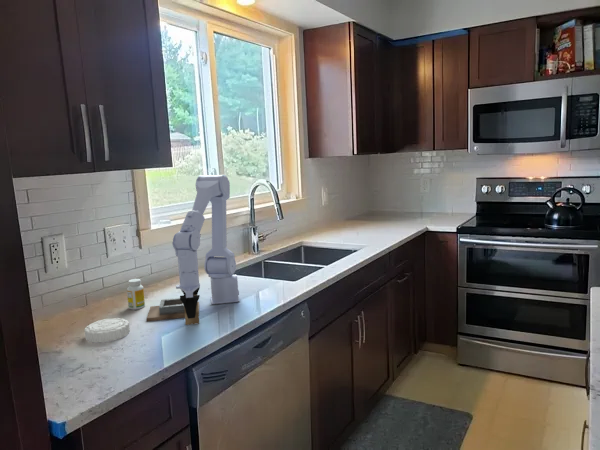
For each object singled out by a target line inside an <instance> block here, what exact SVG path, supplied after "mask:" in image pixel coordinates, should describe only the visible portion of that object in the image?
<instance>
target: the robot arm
mask: <svg viewBox="0 0 600 450" xmlns="http://www.w3.org/2000/svg"><path fill="white" fill-rule="evenodd" d="M230 184H231V183H230V180H229V178H228V176H227V175H226V174H217V175H216V174H214V175H212V174H211V175H207V174H206V175H203V174H201V175H200V174H199V175H198V176H197V177H196V181H195V190H196V196H195V200H194V202H193V206H192V210H191V211H188V212H187V213H186V215H185V218H184V221H183V222H182V225H181V228H180V230H179V231H178V232H176V233H174V235H173V239H172V243H171V244H172V248H173V249H174V252H175V256H176V257H177V265H178V276H179V284H176V285H175V289H176V290H181V292H182V293H183V295H180V296H179V298H180V300H181V301H182V303H183V305H184V307H185V310H186V314H187V317H188V319H189V318H195V316H196V306H197V302H199V300H200V297H201V296H200V294H199V292H200V288H201V283H200V276H199V263H198V250H199V247H200V245H201V230H202V229H203V228H202V227H203V225H204V223H205V216H204V213H205V211H206V209H207V207H208V205H209V203H211V249H210V250H209V251H207V252H206V253H205V259H204V264H203V267H204V272H205V274H206V275H208V277H209V278H210V290H211V296H210V304H211V305H217V304H220V305H221V304H229V303H238V302H240V296H239V295H240V291H239V282H238V275H237V274H235V272H236V269H237V263H236V258H235V256H236V255H235V253H234V252H233V251H232V250H230V249H229V248H228V247H227V244H228V243H227V242H228V241H227V240H228V239H227V238H228V237H227V235H228V233H227V231H228V230H227V229H228V228H227V201H228V200H229V199H230V198H231V197H230V194H231V191H230V190H231V189H230V188H231V187H230V186H231V185H230Z"/></svg>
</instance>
